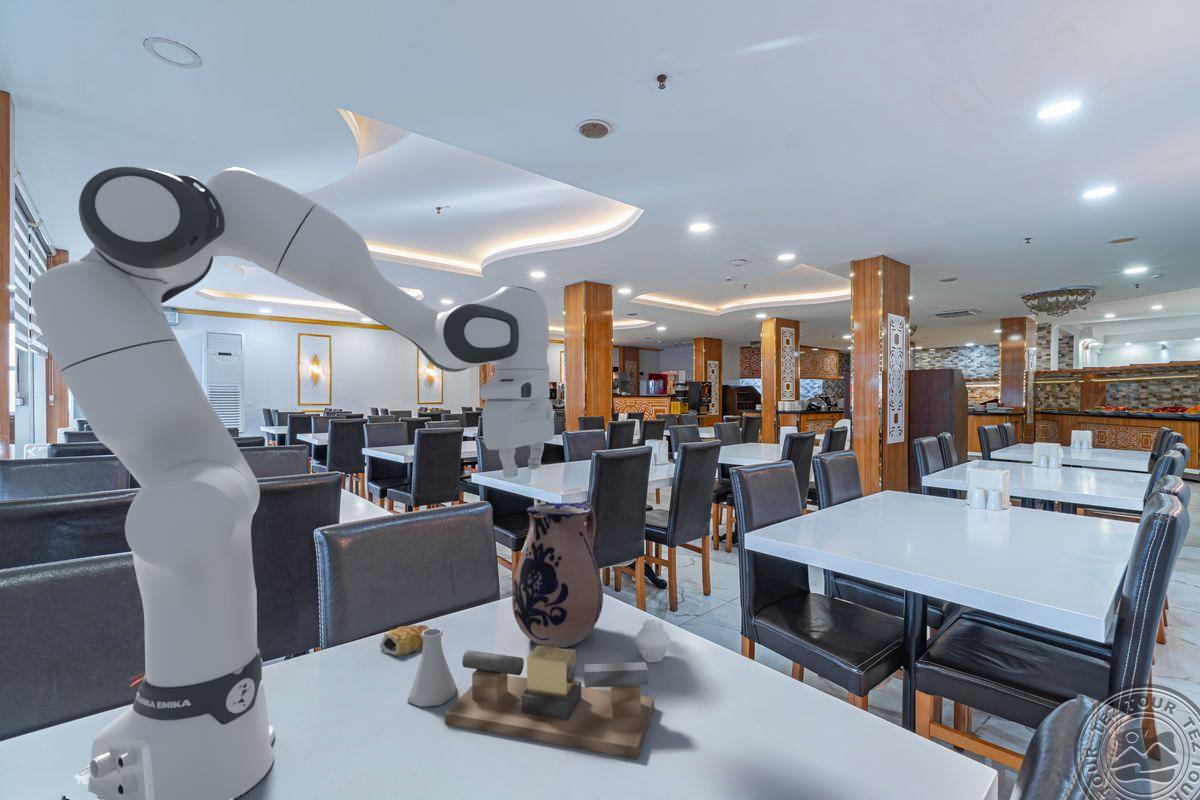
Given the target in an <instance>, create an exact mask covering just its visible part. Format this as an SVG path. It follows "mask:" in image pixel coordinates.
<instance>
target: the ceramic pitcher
mask: <svg viewBox="0 0 1200 800" xmlns="http://www.w3.org/2000/svg"><path fill="white" fill-rule="evenodd" d="M526 512H527V514H528V516H529V528H528V532H527V535H526V538H525V541H524V544H523V546H522V551H521V553H520V557H519V560H518V563H517V567H516V571H515V576H514V579H513V586H512V592H511V593H512V594H511V607H512V612H513V616H514V619H515V621H516V623H517V625H518V627H519V629H520V630H521V632H522V633H523V634H524V635H525V637H526V638H528V639H530V640H531V641H532V642H533V643H535V644H537V645H538V646H545V647H553V648H560V649H562V648H567V647H571V646H574V645H578V644H579V643H580V642H582V641H583V640H584V639H585V638H586V637H588V636H589V634H591V632H592V631H593V630H594V628H595V626H596V624H597V622H598V620H599V618H600V616H601V614H602V610H603V603H604V589H603V585H602V580H601V577H600V572H599V569H598V565H597V562H596V559H595V556H594V553H593V550H594V545H595V539H596V531H597V519H596V518H597V517H596V513H595V510H594V508H593V506H592V504H590V503H589V502H588V501H580V502H550V503H542V504H537V505H532V506H529V507H527V508H526Z"/></svg>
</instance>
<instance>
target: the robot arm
mask: <svg viewBox="0 0 1200 800" xmlns="http://www.w3.org/2000/svg"><path fill="white" fill-rule="evenodd" d="M195 184H197V185H195ZM198 186H199V187H200V188H199V187H198ZM78 201H79V202H78V215H79V219H80V223H81V227H82V228H83V231H84V233H85V235H86V236H87V238H88V239H89V240H90V242H91V243H92V244H93V248H90V251H89V252H88V253H87V254H86V255H85V256H84V257H83V256H82V257H81V258H80V259H79V260H74V261H67V262H64V263H61V264H58V265H56V266H53V267H51V268H49V269H47V270H45V271H44V272H43V273H40V275H38V277H36V279H35V280H34V281H33V283H32V285H31V288H30V296H31V297H30V298H31V302H32V307H33V311H34V314H35V317H36V320H37V324H38V326H39V329H40V332H41V335H42V338H43V340H44V342H45V344H46V346H47V350H48V351H49V354H50V355H51V358H52V361H54V363H55V366H56V367H57V370H58V371H59V373H60V376H62V378H63V380H64V383H65V384H66V385H67V387H68V389H69V391H70V393H71V395H72V396H73V398H74V401H76V403H77V406H78V407H79V409H80V411H81V413H82V415H83V416H84V418H85V420H86V422H87V423H88V425H89V427H90V429H91V430H92V432H93V434H94V436H95V437H96V438H97V440H98V441H99V442H100V443H101V444H102V445H104V446H105V447H106V448H107V449H109V451H111V452H112V453H113V455H114V456H115V457H116V458H117V459H118V460H119V461H120V462H121V464H122V465H123V466H124V467H125V468H126V470H128V472H129V473H130V475H132V477H133V478H134V480H136V482H137V483H138V484H139V486H140V487H141V489H139V491H138V492H137V494H136V495H135V497H134V498H133V500H132V502H131V504H130V507H129V508H128V511H127V513H126V514H127V515H126V518H125V521H124V535H125V538H126V539H125V540H126V542H127V544H128V547H129V549H131V553H132V559H133V564H134V569H135V575H136V580H137V583H138V587H139V592H140V597H141V601H142V602H141V603H142V608H143V617H144V618H143V620H144V664H145V665H144V667H145V669H144V670H145V671H144V672H142V673H140V674H138V675H135V676H133V677H130V678H129V681H134V680H135V682H133V683H132V684H129V688H131V689H132V688H135V687H136V686H137V687H138V688H137V691H136V695H135V698H134V702H133V704H132V705H131V706H130V707H128V708H127V709H126V710H125V711H124V712H122V713H121V714H120V715H119V716H118V717H116V718H115V719H114V720H112V721H111V722H110V723H109V724H107V725H106V726H104V727H103V729H102V730H101V731H100V732H98V734H97V735H96V736H95V738H94V741H93V743H92V746H91V751H90V752H91V754H90V762H89V763H90V764H88V766H86V767H84V768H83V769H82V770H80V771H79V772H78V773H76V775H74V776H73V777H74V778H76V779H77V781H78V782H77V783H79V784H80V781H81V783H83V784H86V785H87V787H88V789H89V790H88V791H89V792H92V793H94V794H96V795H98V796H97V798H98V799H100V800H102V799H103V800H230V799H233V798H235V797H237V798H239V797H240V795H241V796H242V795H243V794H245V793H247V792H248V791H250V790H251V789H252V788H254V786H256V785H257V784H258V783H259V782H260V781H261V780H263V778H264V777H265V776H266V774H267V773H268V771H269V770H271V767H272V764H273V763H274V751H273V748H272V743H273V741H274V739H275V736H276V733H275V728H274V726H272V725H269V724H270V723H269V717H268V707H267V700H266V694H265V692H266V691H265V686H264V683H263V682H262V678H263V675H262V674H263V672H262V671H263V668H262V667H263V658H262V652H261V649H260V648H259V647H258V613H257V612H258V609H257V608H258V600H257V592H258V591H257V586H256V581H255V572H254V563H253V562H254V561H253V549H252V521H253V517H254V514H255V513H256V511H257V509H258V507H259V503H260V499H261V497H260V496H261V491H260V485H259V482H258V480H257V477H256V476H255V474H254V472H253V470H252V468H251V467H250V466H249V463H248V462H247V460H246V458H245V457H244V455H243V453H242V452H241V450H240V448H239V447H238V444H237V443H236V442H235V440H234V438H233V437H232V435H231V433H230V432H229V430H228V429H227V427H226V426H225V424H224V423H223V421H222V420H221V418H220V416H219V415H218V414H217V412H216V410H215V409H214V407H213V405H212V404H211V402H210V400H209V398H208V397H207V395H206V393H205V391H204V389H203V387H202V385H201V383H200V381H199V379H198V377H197V376H196V373H195V372H194V370H193V368H192V365H191V364H190V362H189V360H188V358H187V356H186V354H185V352H184V350H183V348H182V346H181V344H180V342H179V340H178V338H177V336H176V335H175V333H174V331H173V328H172V327H171V325H170V323H169V321H168V319H167V317H166V315H165V312H164V309H163V306H162V305H163V304H164V303H166V302H167V301H169V300H170V299H172V298H174V297H176V296H177V295H180V294H181V293H183V292H184V291H185V292H186V290H188V289H191V288H192V287H194V286H196V285H197V284H198V283H200V282H201V281H202V280H204V278H206V276H207V275H208V273H209V272H210V271H211V268H212V266H213V262H214V257H223V256H224V257H225V256H226V257H232V258H233V257H234V258H239V259H242V260H245V261H247V262H252V263H254V264H255V265H257V266H258V267H260V268H262V269H264V270H265V271H268V272H269V273H270V274H273V275H275V276H277V277H278V278H281V279H282V280H285V281H286V282H289V283H290V284H292V285H295V286H297V287H300V288H301V289H303V290H306V291H308V292H311V293H313V294H316V295H318V296H321V297H323V298H325V299H329V300H331V301H333V302H336V303H338V304H341V305H344V306H346V307H349V308H351V309H353V310H356V311H358V312H360V313H362V314H363V315H366V316H367V317H368V318H370V319H372V320H375V321H376V322H377V323H379V324H381V325H383V327H386V328H388V329H390V330H391V331H392V332H393V331H394V332H395V333H396V334H399V335H401V337H404V338H405V339H407V340H408V341H410V342H411V343H412V344H414V345H415V346H416V347H417V349H418V350H419V351H420V352H421V353H422V354H423V356H424V357H425V359H426V360H428V361H429V363H431V365H433V366H434V367H436V368H437V369H438V370H441V371H445V372H448V373H450V372H451V373H458V372H459V373H460V372H463V371H465V370H467V369H470V368H475V367H480V366H483V365H485V364H488V363H489V364H490V363H491V364H493V365H494V376H493V377H492V378H491V379H490V380H489V381H488V382H486V383H484V384H483V385H482V384H481V387H480V398H481V400H483V401H484V402H483V405H482V412H481V413H482V414H481V415H482V417H481V418H482V420H481V421H482V437H483V442H484V445H485V447H486V449H487V450H489V451H493V450H494V451H498V457H499V459H500V462H501V465H502V472H503V473H502V474H503V477H504V478H509V479H510V478H511V479H512V478H514V477H517V476H518V473H519V472H518V470H519V469H518V465H517V464H516V461H515V455H516V448H520V447H526V446H529V449H530V455H529V458H528V459H527V468H528V469H529V470H533V471H534V470H535V471H536V470H539V469H540V468H541V466H542V461H541V460H542V457H543V452H544V450H545V442H548V441H552V440H553V439H554V435H555V419H554V418H555V417H554V408H553V403H552V401H551V399H550V396H551V395H550V392H551V391H550V390H551V389H550V366H549V362H548V349H549V346H550V326H549V315H548V307H547V304H546V302H545V299H544V298H543V296H542V295H541V294H540V293H538V292H537V291H535V290H533V289H530V288H527V287H523V286H515V285H509V286H502V287H501V288H499V289H498V290H497V291H495V292H494V293H492V294H490V295H488V296H486V297H484V298H480V299H479V300H475V301H472V302H471V301H470V302H466V303H463V304H460V305H457V306H455V307H453V308H451V309H449V310H448V311H445V310H444V311H443V310H438V309H434V308H432V307H430V306H428V305H427V304H425V303H423V302H422V301H420V300H419V299H417V298H415V297H414V296H411V294H409V293H407V292H405V291H404V290H403V289H401V288H399V287H398V286H396V285H395V284H393V283H391V282H390V281H389V280H388V279H387V278H386V277H385V276H384V275H383V274H382V273H381V271H380V270H379V269H378V268H377V266H376V264H375V262H374V261H373V258H372V256H371V253H370V250H369V248H368V245H367V243H366V241H365V239H364V238H363V236H362V235H361V234H360V233H359V232H358V231H357V230H355V229H354V228H353V227H352V226H351V225H350V224H349V223H347V222H346V221H345V220H343V219H342V218H341V217H339V216H338V215H336V214H335V213H333V212H332V211H330V210H329V209H327V208H326V207H324V206H322V205H320V204H319V203H317V202H316V201H314V200H312V199H311V198H308V196H307V197H306V196H305V195H303V194H301V193H299V192H297V191H296V190H294V189H292V188H290V187H288V186H286V185H283V184H281V183H280V182H278V181H276V180H273V179H270V178H268V177H266V176H263V175H261V174H258V173H255V172H253V171H251V170H248V169H245V168H239V167H230V168H227V169H226V168H225V169H223V170H221V171H219V172H217V173H216V174H215V175H213V176H211V178H210V179H209V180H208V181H207V182H206V183H203V182H202V181H200V180H199V179H198V178H196V177H193V176H190V175H181V174H175V173H173V174H172V173H166V172H162V171H158V170H155V169H150V168H144V167H139V166H138V167H137V166H116V167H112V168H108V169H104V170H102V171H99V172H98V173H97V174H95V175H94V176H93V177H90V179H89V180H88V181H87V182H86V184H85V185H84V187H83V188H82V191H81V193H80V196H79V200H78ZM136 679H137V680H136ZM86 771H91V772H90V773H89V774H86V775H84V774H83V773H84V772H86ZM80 773H82V775H84V776H79V774H80ZM79 780H80V781H79ZM84 786H85V785H84ZM90 790H91V791H90ZM238 796H239V797H238Z"/></svg>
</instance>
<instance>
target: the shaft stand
mask: <svg viewBox="0 0 1200 800" xmlns="http://www.w3.org/2000/svg"><path fill="white" fill-rule="evenodd" d="M646 662H647V661H640V662H637V661H636V662H617V663H615V662H613V663H588V664H586V663H585V664H584V665H583V669H584V671H583V679H584V680H583V681H584V682H583V683H584V686H582V681H581V680H577V679H576V685H575V686H574V688H573V689H572V691H571V692H570V694H569V696H568V697H567V699H566V698H559V697H553V696H547V695H541V694H534V693H528V692H527V677H522V676H521V675H522V673H523V670H524V664H525V661H524V658H523V657H519V656H513V655H505V654H499V653H490V652H483V651H477V650H472V649H471V650H470V649H468V650H465V652H464V654H463V656H462V662H461V663H462V667H463V668H467V669H474V671H473V673H472V675H471V679H472V680H471V681H472V682H471V683H472V684H471V686H470V687H469V688H468V689H467V690H466V691H465V692H464V693H463V695H461V696H460V697H459V698H458V699H457V700H456V702H454V703H453V704H452V705H451V706H450V708H448V709H447V710H446V711H445V712H444V724H445V725H451V726H455V727H462V728H467V729H472V730H478V731H483V732H489V733H493V734H500V735H505V736H510V737H511V736H512V737H517V738H522V739H526V740H531V741H536V742H537V741H538V742H542V743H548V744H553V745H559V746H565V747H569V748H575V749H580V750H586V751H592V752H597V753H602V754H607V755H612V756H618V757H625V758H629V759H635V760H637V759H638V758H639V754H640V751H641V749H642V746H643V743H644V741H645V737H646V734H647V731H648V729H649V725H650V722H651V719H652V716H653V713H654V710H655V697H651V696H647V695H646V696H645V695H642V692H641V689H642V688H641V686H648V685H649V669H648V665H647V663H646ZM513 675H514V676H513ZM604 687H606V688H607V687H608V688H610V689H609V690H607V689H598V688H604Z"/></svg>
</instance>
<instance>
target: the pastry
mask: <svg viewBox="0 0 1200 800" xmlns="http://www.w3.org/2000/svg"><path fill="white" fill-rule="evenodd" d="M428 628H429V626H427V625H425V624H419V625H411V624H410V625H407V626H405V625H402V626H398V627H397V628H396V629H391V630H389V631H388V633H385V634H384V635H383V637H382V639H381V641H380V642H379V647H380V649H381V651H382V652H383V653H385V654H389V655H393V656H400V657H401V656H406V655H410V654H411V653H412V652H413V651H414V652H416V651H418V650H420V649H422V648H423V638H421V634H422V632H423V631H424V630H426V629H428Z"/></svg>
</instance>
